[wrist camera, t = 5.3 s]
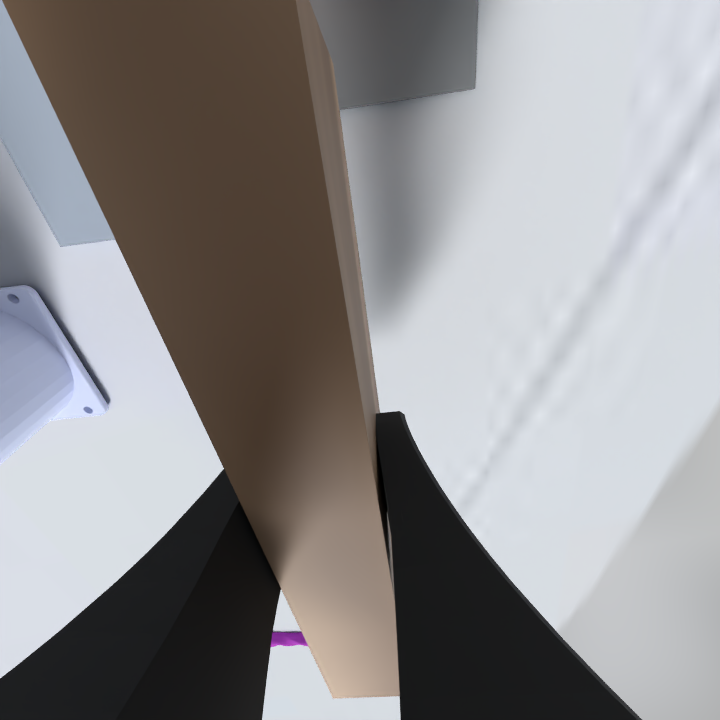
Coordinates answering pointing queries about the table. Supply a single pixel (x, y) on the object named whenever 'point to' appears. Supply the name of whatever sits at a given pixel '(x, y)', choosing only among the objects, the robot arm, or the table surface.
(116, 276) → the table surface
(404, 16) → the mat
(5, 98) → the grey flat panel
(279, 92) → the wooden plank
